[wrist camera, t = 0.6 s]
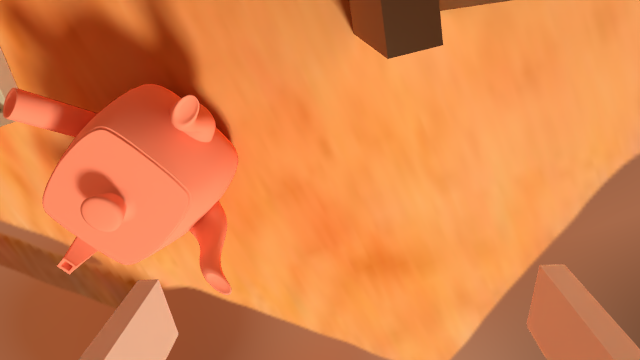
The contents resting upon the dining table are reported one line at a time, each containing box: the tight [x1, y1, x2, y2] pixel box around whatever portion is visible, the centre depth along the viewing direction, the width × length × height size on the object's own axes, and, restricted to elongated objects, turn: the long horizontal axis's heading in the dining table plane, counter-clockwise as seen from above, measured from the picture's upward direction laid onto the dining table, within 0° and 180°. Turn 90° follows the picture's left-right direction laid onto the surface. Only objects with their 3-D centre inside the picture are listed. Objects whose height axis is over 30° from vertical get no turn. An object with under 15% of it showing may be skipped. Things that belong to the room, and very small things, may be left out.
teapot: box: [3, 84, 238, 295], centre depth 34 cm, size 18×18×14 cm
